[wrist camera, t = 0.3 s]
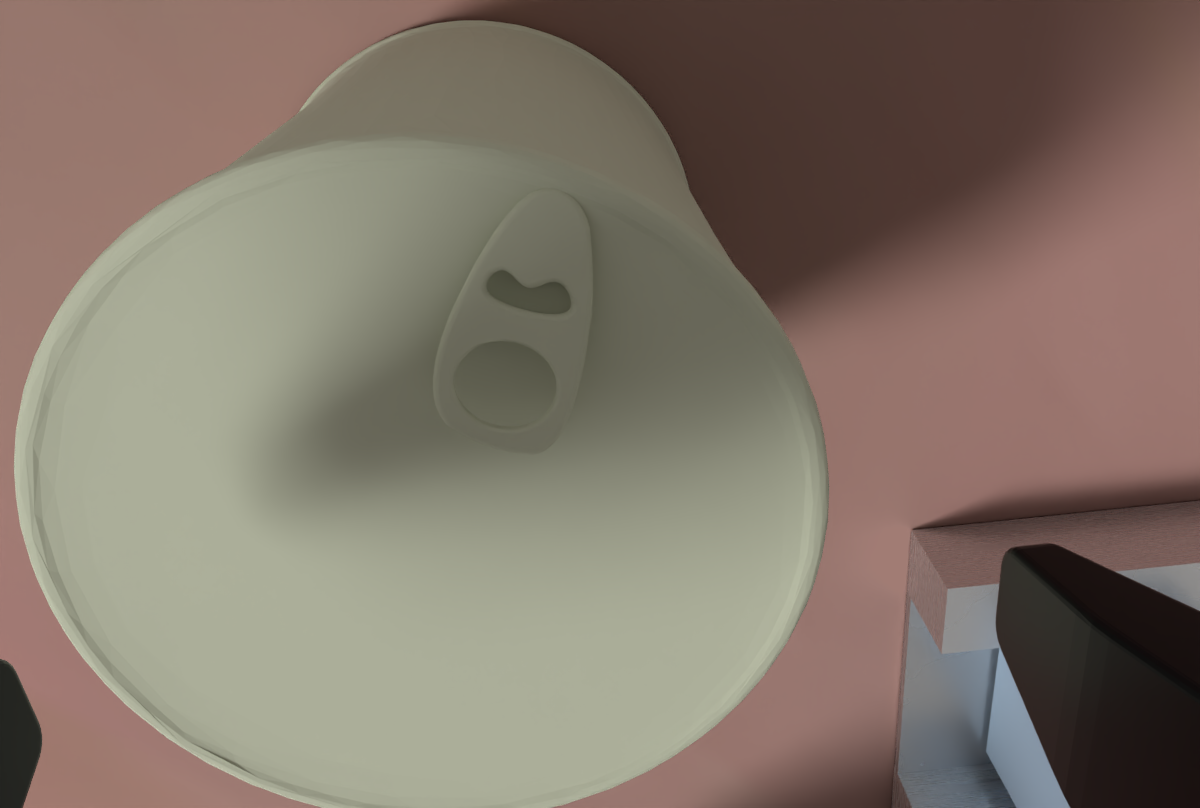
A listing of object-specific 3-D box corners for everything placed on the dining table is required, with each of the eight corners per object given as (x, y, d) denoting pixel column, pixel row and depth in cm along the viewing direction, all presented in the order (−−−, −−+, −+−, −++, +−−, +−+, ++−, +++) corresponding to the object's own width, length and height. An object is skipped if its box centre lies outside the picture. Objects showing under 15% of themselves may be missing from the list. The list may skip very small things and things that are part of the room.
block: (985, 751, 28) (1069, 906, 24) (1003, 616, 26) (1099, 759, 22) (1154, 733, 28) (1269, 884, 24) (1186, 596, 26) (1319, 735, 22)
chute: (891, 812, 30) (919, 884, 28) (911, 529, 25) (947, 589, 23) (1240, 775, 30) (1297, 843, 28) (1326, 487, 25) (1401, 541, 23)
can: (759, 112, 20) (1006, 320, 10) (608, 472, 24) (666, 913, 13) (323, -53, 19) (30, -21, 8) (232, 365, 22) (-53, 776, 12)
